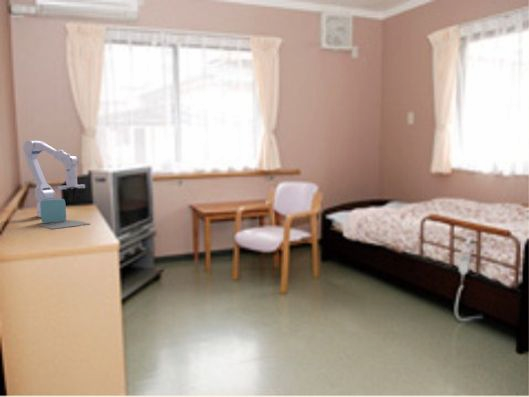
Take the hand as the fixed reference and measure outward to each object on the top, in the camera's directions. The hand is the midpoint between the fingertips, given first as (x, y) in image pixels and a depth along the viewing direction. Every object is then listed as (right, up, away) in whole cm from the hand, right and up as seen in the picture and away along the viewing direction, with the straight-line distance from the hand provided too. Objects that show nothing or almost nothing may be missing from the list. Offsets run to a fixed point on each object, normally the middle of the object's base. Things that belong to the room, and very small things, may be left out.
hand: (72, 201), depth 262 cm
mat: (+5, -12, -21) cm, 25 cm away
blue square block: (-4, -11, -14) cm, 18 cm away
